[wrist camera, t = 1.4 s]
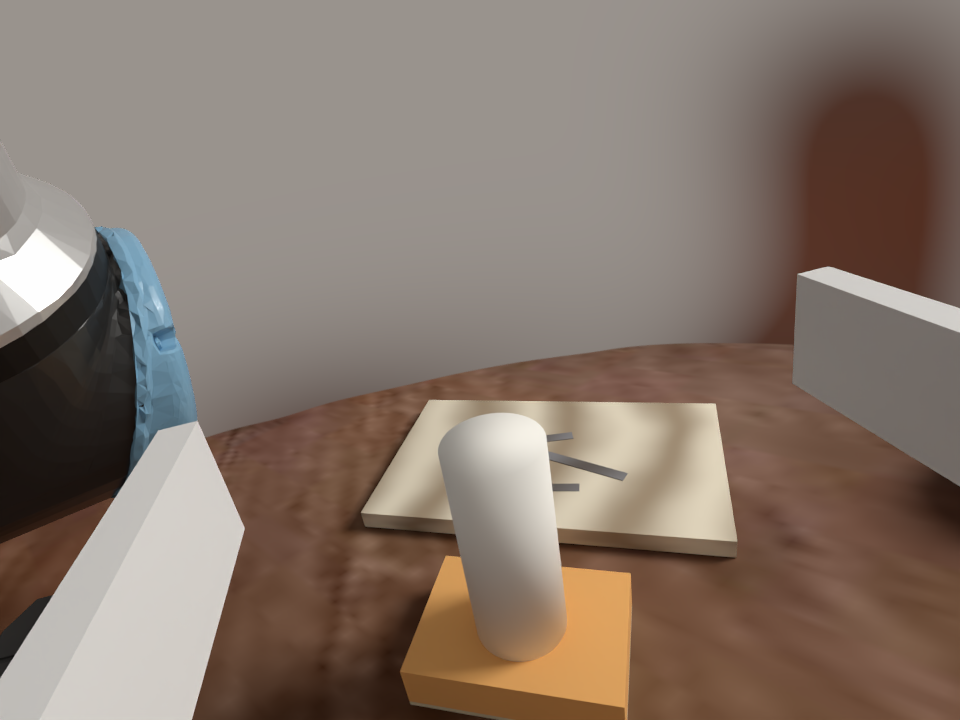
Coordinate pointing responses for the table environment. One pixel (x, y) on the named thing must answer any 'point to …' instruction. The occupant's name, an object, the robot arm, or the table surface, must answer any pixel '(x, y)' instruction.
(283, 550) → the table surface
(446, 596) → the block
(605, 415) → the plywood board
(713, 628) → the table surface
